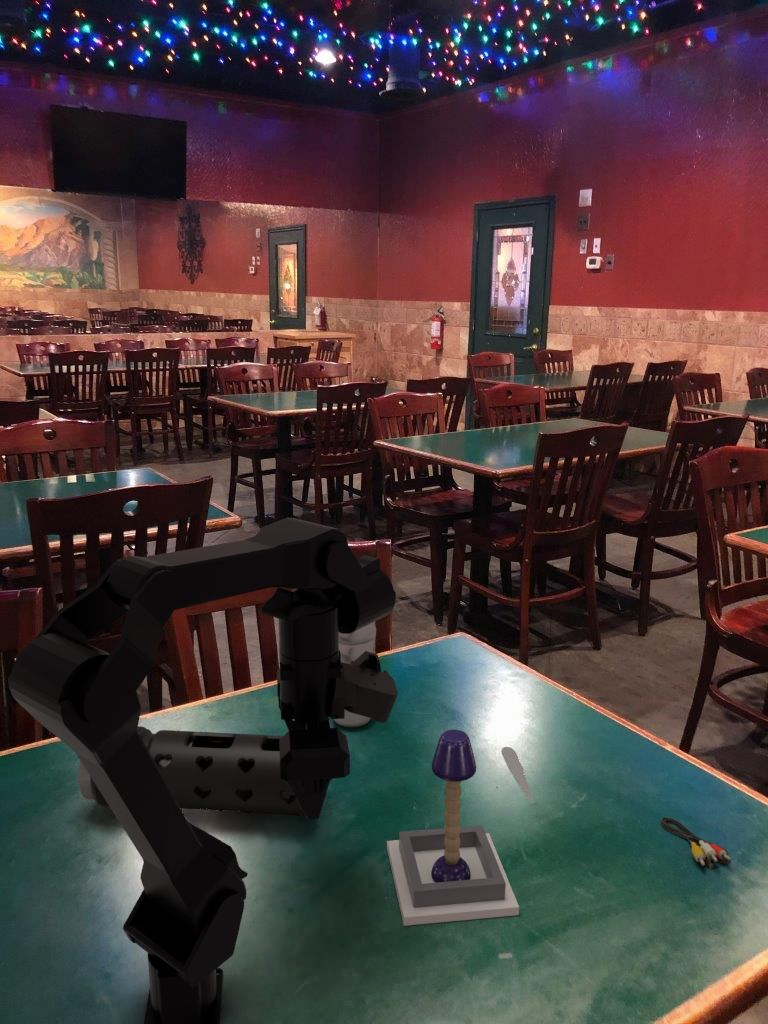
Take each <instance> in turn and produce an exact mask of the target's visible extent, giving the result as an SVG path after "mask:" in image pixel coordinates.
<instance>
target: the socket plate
mask: <svg viewBox="0 0 768 1024" xmlns="http://www.w3.org/2000/svg"><path fill="white" fill-rule="evenodd" d="M460 828H461V831H460V835H459V838H460V847H459V851H460V857H461V858H462V859H463V860H464V861H466V863H467V864H468V866H469V869H470V873H471V878H470V880H460V881H449V882H437V883H436V882H435V881H434V880H433V878H432V876H431V872H432V868H433V865H434V863H435V862H436V860H437V859H439V858H440V857H442V856H444V851H445V848H446V847H445V844H444V838H445V832H444V827H443V828H431V829H419V830H418V829H417V830H406V831H404V830H403V831H399V834H398V837H399V839H396V840H395V839H393V840H387V841H386V852H387V855H388V859H389V864H390V869H391V873H392V878H393V882H394V887H395V892H396V896H397V901H398V906H399V910H400V915H401V919H402V925H403V926H406V927H407V926H413V925H414V926H415V925H427V924H437V923H439V924H440V923H447V922H448V923H449V922H459V921H471V920H479V919H490V918H492V919H493V918H501V917H502V918H503V917H513V916H519V913H520V905H519V904H518V901H517V898H516V896H515V893H514V891H513V889H512V885H511V884H510V881H509V879H508V876H507V873H506V871H505V870H504V866H503V864H502V862H501V860H500V857H499V854H498V852H497V849H496V847H495V844H494V843H493V840H492V838H491V835H490V833H489V832H486V830H485V829H484V826H483V825H468V826H460Z"/></svg>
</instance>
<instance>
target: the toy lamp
mask: <svg viewBox="0 0 768 1024" xmlns="http://www.w3.org/2000/svg"><path fill="white" fill-rule="evenodd" d="M472 747H473V746H472V743H471V740H470V737H469V735H468V734H467V733H466V732H465V731H463V730H461V729H453V728H452V729H447V730H445V731H443V732H442V733H441V734H440V736H439V739H438V741H437V745H436V748H435V752H434V755H433V757H432V758H433V759H432V761H431V771H432V773H433V774H434V776H436V777H437V778H439V779H442V780H443V781H445V783H446V784H445V787H444V794H445V799H444V808H445V811H444V813H443V815H444V817H443V818H444V822H445V823H444V827H443V828H444V832H445V838H444V844H445V847H446V848H445V851H444V856H442V857H440V858H439V859H437V860H436V862H435V863H434V865H433V868H432V872H431V876H432V878H433V880H434V881H435V882H436V883H437V882H449V881H460V880H470V878H471V873H470V869H469V866H468V864H467V863H466V861H464V860H463V859H462V858H461V857H460V851H459V847H460V838H459V835H460V831H461V828H460V827H461V825H460V822H461V818H462V817H461V815H462V814H461V811H460V809H461V806H462V802H461V795H462V786H461V783H462V782H464V781H466V780H470V779H471V778H473V777H474V775H475V774H476V771H477V764H476V759H475V756H474V751H473V748H472Z"/></svg>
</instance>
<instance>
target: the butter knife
mask: <svg viewBox="0 0 768 1024" xmlns="http://www.w3.org/2000/svg"><path fill="white" fill-rule="evenodd" d="M501 755H502V756H503V759H504V761H505V763H506V765H507V767H508V770H509V772H512V773H511V774H512V776H513V777H514V779H515V781H516V782H517V781H518V782H517V784H518V787H519V788H520V790H521V791H522V790H523V792H524V793H525V795H526V796H525V795H524V797H525V798H526V797H529V798H527V799H530V798H532V796H531V794H533V792H532V791H531V792H532V793H531V792H530V790H529V788H530V789H531V787H530V786H529V787H528V785H529V783H527V782H528V781H527V782H526V779H527V777H525V776H526V774H525V775H523V774H524V773H525V770H524V767H523V765H522V763H520V762H521V761H520V762H519V760H520V758H519V756H518V754H517V752H516V750H514V749H513V747H509V746H504V747H502V748H501ZM518 758H519V759H518ZM521 765H522V766H521ZM522 767H523V768H522ZM523 771H524V772H523ZM513 774H514V775H513ZM520 786H521V787H520ZM523 792H522V793H523ZM527 799H526V800H527ZM531 800H533V798H532V799H530V800H529V801H531ZM532 802H534V801H532ZM532 802H531V803H532Z"/></svg>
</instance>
